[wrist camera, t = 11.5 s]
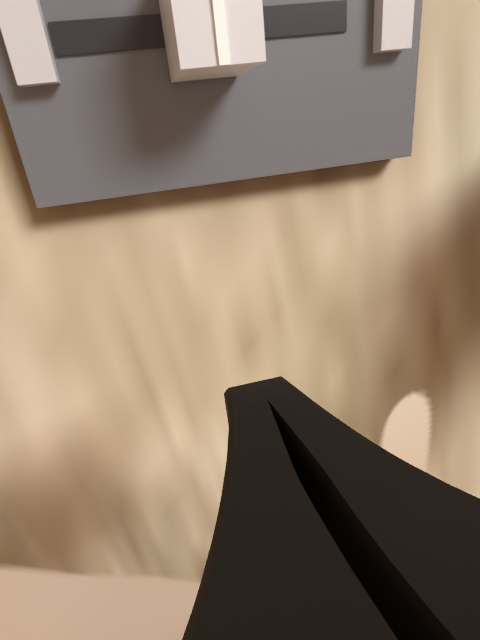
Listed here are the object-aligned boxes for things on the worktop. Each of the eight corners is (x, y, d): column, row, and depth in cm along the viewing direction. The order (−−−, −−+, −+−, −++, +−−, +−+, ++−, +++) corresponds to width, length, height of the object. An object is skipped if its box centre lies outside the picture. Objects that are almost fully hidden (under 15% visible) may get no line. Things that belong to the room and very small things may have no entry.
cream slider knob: (228, -32, 13) (258, -83, 10) (238, 75, 15) (267, 60, 11) (153, -28, 13) (160, -80, 10) (171, 82, 14) (181, 68, 11)
